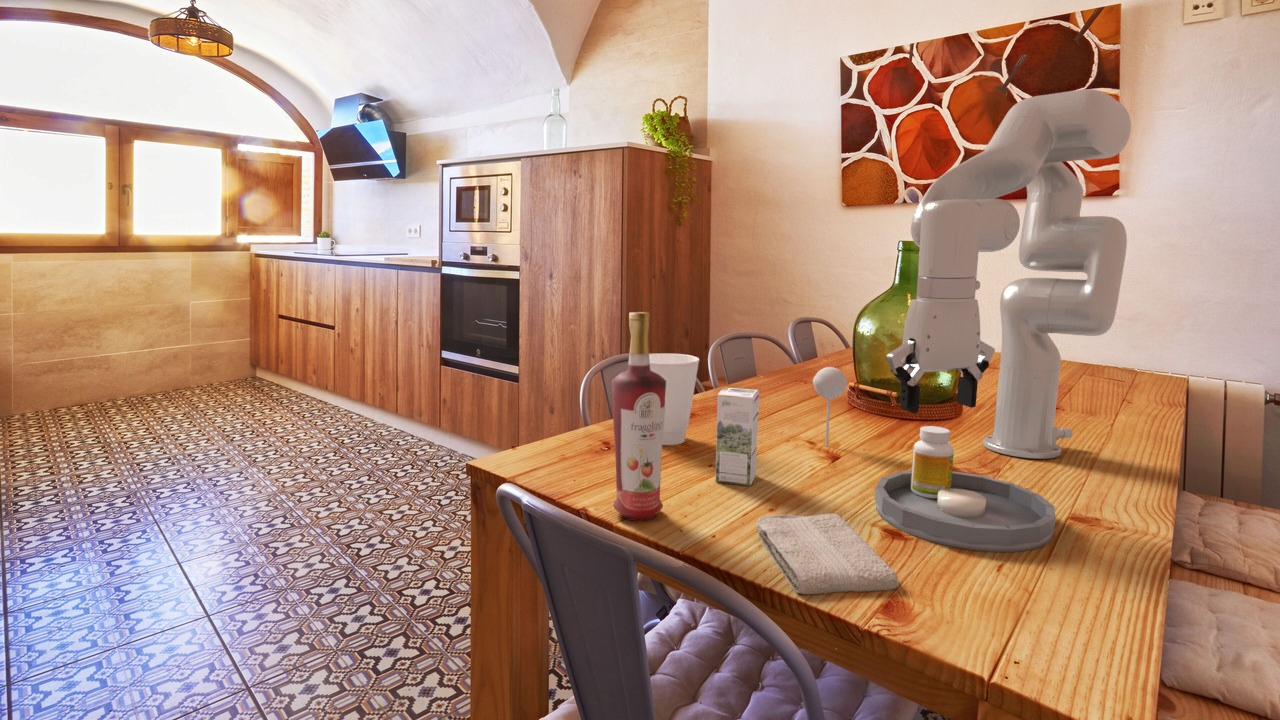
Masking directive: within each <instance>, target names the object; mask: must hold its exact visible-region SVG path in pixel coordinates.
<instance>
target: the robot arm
mask: <svg viewBox="0 0 1280 720" xmlns="http://www.w3.org/2000/svg"><path fill="white" fill-rule="evenodd" d="M1131 130H1132V123H1131V116H1130V115H1129V112H1128V110H1127V108H1126V107H1125V106H1124V105H1123V103H1121V102H1120V101H1118V100H1116V99H1115V98H1114V97H1113V96H1111V95H1109V94H1108V93H1106V92H1103V91H1101V90H1097V89H1094V88H1091V89H1090V88H1088V89H1087V88H1086V89H1084V88H1083V89H1076V90H1069V91H1062V92H1055V93H1049V94H1043V95H1035V96H1031V97H1028V98H1025V99H1022V100H1020V101H1017V103H1015V104H1014V105H1013V106H1012V107H1010V109H1009V110H1008V112H1007V113H1006V115H1005V116H1004V118H1003V119H1002V121H1001V122H1000V124H999V125H998V128H997V129H996V130H995V132H994V134H993V136H992V138H991V139H990V140H989V141H988V143H987V145H986V146H985V148H984V150H983V151H981V152H980V153H978V154H975V155H974V156H972V157H970V158H968V159H967V160H965V161H963V162H961V163H960V164H958V165H956V166H954V168H951V169H950V170H948V171H946V172H945V173H944V174H942V175H940V176H939V177H938V178H937V179H936V180H935V181H933V182H932V184H931V185H930V186H929V188H928V189H927V190H926V192H925V194H924V195H923V197H922V198H921V200H920V201H919V203H918V204H917V207H916V209H915V211H914V214H913V216H912V220H911V225H910V234H911V238H912V240H913V243H914V244H915V245H916V247H918V248H919V251H918V254H919V255H918V267H917V269H918V271H917V272H918V273H917V283H916V285H917V287H916V298H915V299H911V300H910V304H909V306H908V309H907V313H906V318H905V321H904V328H903V334H902V342H901V345H899V346H898V347H897V348H895V349H893V350H891V351H890V352H889V353H887V355H886V360H887V362H888V365H889V367H890V371H891V373H892V374H893V375H894V376H895V378H896V380H897V382H898V383H900V395H899V396H900V397H899V403H900V409H901V410H904V411H906V412H909V413H911V414H918V412H919V407H920V393H921V392H920V391H921V387H920V385H917V383H918V382H919V381H920V379H921V378H922V377H923V375H924V374H925V373H927V372H928V373H929V372H943V371H956V370H957V371H959V372H960V373H961V375H962V376H958V379H957V390H956V403H957V404H958V405H962V406H964V407H968V408H976V406H977V397H978V395H977V394H978V383H979V381H981V380H982V379H983V374H984V372H985V371H986V370H988V367H989V366H990V363H989V362H991V361H992V359H993V356H994V354H995V351H996V350H995V347H993V346H991V345H989V344H988V343H987V342H984V341H982V340H981V315H980V309H979V302H978V301H979V300H978V299H977V298H976V293H977V292H976V291H977V290H979V289H980V287H981V283H980V281H979V280H977V277H978V265H979V264H978V263H979V253H993V252H999V251H1001V250H1004V249H1005V248H1008V247H1009V246H1010V245H1011V244H1012V243H1013V242H1014V241H1015V239H1016V238H1017V236H1018V233H1019V230H1020V227H1021V226H1020V225H1021V223H1020V222H1021V221H1020V220H1021V218H1020V215H1019V212H1018V209H1017V208H1016V207H1015V206H1014V205H1013V204H1012V203H1011V202H1009V201H1008V200H1004V199H1000V197H1003V196H1005V195H1008V194H1011V193H1013V192H1017V191H1019V190H1021V189H1023V188H1025V187H1026V195H1027V197H1026V205H1025V210H1024V216H1023V221H1022V228H1021V232H1020V240H1019V246H1018V259H1019V260H1018V261H1019V262H1020V264H1021V265H1022V266H1023V268H1026V269H1028V270H1033V271H1038V272H1056V273H1057V272H1058V273H1062V272H1063V273H1083V274H1086V276H1087V279H1073V278H1072V279H1071V278H1058V277H1057V278H1055V277H1054V278H1052V277H1051V278H1050V277H1025V278H1024V277H1023V278H1019V279H1016V280H1013V281H1010V282H1009V283H1008V284H1007V285H1006V286H1004V288H1003V289H1002V292H1001V295H1000V298H999V299H1000V300H999V310H1000V320H1001V321H1000V322H1001V351H1000V359H999V361H1000V362H999V375H998V382H997V383H998V384H997V393H996V394H997V395H996V402H995V403H996V405H995V413H994V415H995V416H994V424H993V434H990V435H987V436H985V437H984V438H983V440H982V441H983V442H982V443H983V446H984V447H985V448H987V449H988V450H989V451H993V452H995V453H999V454H1002V455H1007V456H1010V457H1011V456H1012V457H1016V458H1024V459H1034V460H1035V459H1036V460H1037V459H1038V460H1040V459H1041V460H1044V459H1045V460H1046V459H1054V458H1058V457H1060V456H1061V454H1062V447H1061V446H1060V445H1059V444H1057V441H1058V440H1059V439H1060V440H1061V439H1070V438H1072V437H1073V430H1072V429H1071V428H1070V427H1059V428H1058V427H1057V426H1055V419H1056V410H1057V409H1056V408H1057V399H1058V390H1059V384H1060V381H1059V380H1060V376H1061V375H1060V372H1061V363H1062V358H1061V357H1062V356H1061V354H1060V351H1059V349H1058V347H1057V346H1056V344H1055V342H1054V341H1053V339H1052V338H1051V337H1050V335H1049V334H1061V335H1063V334H1064V335H1072V336H1073V335H1074V336H1083V337H1084V336H1086V337H1088V336H1089V337H1094V336H1095V337H1096V336H1097V337H1098V336H1102V335H1104V334H1106V333H1107V332H1108V331H1109V330H1111V327H1112V325H1113V323H1114V321H1115V318H1116V317H1115V316H1116V313H1117V307H1118V302H1119V295H1120V291H1121V285H1122V284H1121V283H1122V279H1123V274H1124V273H1123V272H1124V267H1125V262H1126V254H1127V244H1128V241H1127V239H1128V238H1127V232H1126V231H1127V230H1126V227H1125V225H1124V224H1123V222H1122V221H1121V220H1119V219H1118V218H1116V217H1113V216H1104V215H1099V216H1098V215H1095V216H1093V215H1092V216H1088V215H1087V216H1081V208H1082V203H1083V197H1084V189H1083V186H1082V183H1081V182H1080V180H1079V179H1078V178H1077V176H1076V175H1075V174H1074V173H1073V172H1072V170H1070V168H1068V166H1066V165H1065V164H1064V162H1074V161H1088V160H1100V159H1101V160H1103V159H1109V158H1113V157H1115V156H1118V154H1120V153H1121V152H1122V151H1123V150H1124V149H1125V147H1126V145H1127V144H1128V142H1129V140H1130V136H1131Z"/></svg>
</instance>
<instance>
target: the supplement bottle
mask: <svg viewBox="0 0 1280 720" xmlns="http://www.w3.org/2000/svg"><path fill="white" fill-rule="evenodd" d="M919 430H920V431H919V438H920V440H918V441H917V442H915V443H914V446H913V453H912V455H913V457H912V466H911V471H912V477H911V490H912V492H913V493H915V494H917V495H919V496H922V497H925V498H932V499H938V492H939V491H940V490H942V489H951V479H952V471H953V464H954V455H955V454H954V453H955V450H954V447H953V446H952V445H951V444H950V443H949V441H950V438H951V437H950V436H951V430H949V429H948V428H945V427H942V426H934V425H929V426H928V425H925V426H921V427H920V429H919Z"/></svg>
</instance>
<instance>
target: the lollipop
mask: <svg viewBox="0 0 1280 720" xmlns="http://www.w3.org/2000/svg"><path fill="white" fill-rule="evenodd" d="M812 379H813V380H812V384H813V387H814V390H815V391H816V393H817V394H818V395H819V397H822V398H824V399H827V408H826V412H827V413H826V427H825V429H826V430H825V442H824V444H825V445H824V446H825V447H828V445H829V428H830V414H831V411H830V410H831V400H833V399H836V398H838V397H840V396H842V395H843V394H844V392H845V391H846V388H847V386H848V380H847V378H846V375H845V374H844V372H843V371H841V370H840V369H838V368H837V367H832V366H827V367H824V368H822V369H820V370H818V371H817V372H816V373H815V375H814V377H813V378H812Z"/></svg>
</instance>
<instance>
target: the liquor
mask: <svg viewBox="0 0 1280 720" xmlns="http://www.w3.org/2000/svg"><path fill="white" fill-rule="evenodd" d="M628 315H629V316H628V318H629V319H628V320H629V321H628V322H629V324H628V325H629V333H630V345H629V355H628V364H627V370H624V371H622V372H620V373H619V374H617V375H616V376H615V377H613V379H612V380H611V391H612V392H611V395H612V421H613V438H614V451H615V452H614V455H615V457H614V458H615V459H614V460H615V479H616V480H615V485H616V487H615V491H616V492H615V493H616V499H615V500H614V503H613V505H612V506H613V508H614V510H615V511H616V512H617V513H618V514H620V515H621V516H622V517H623V518H625V519H627V520H631V521H647V520H650V519H652V518H654V517H655V516H656V515H657V514H658V513H659V512H660V511H661V510H662V509H663V507H664V504H663V502H662V501H661V498H660V496H661V473H662V453H663V452H662V451H663V450H662V449H663V445H662V439H663V427H664V412H665V392H666V380H665V379H663V378H662V377H661V376H660V375H659V374H657V373H655V372H653V371H650V361H649V354H650V349H649V338H648V336H649V330H650V312H648V311H647V312H645V311H636V312H634V311H633V312H629V314H628Z"/></svg>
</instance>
